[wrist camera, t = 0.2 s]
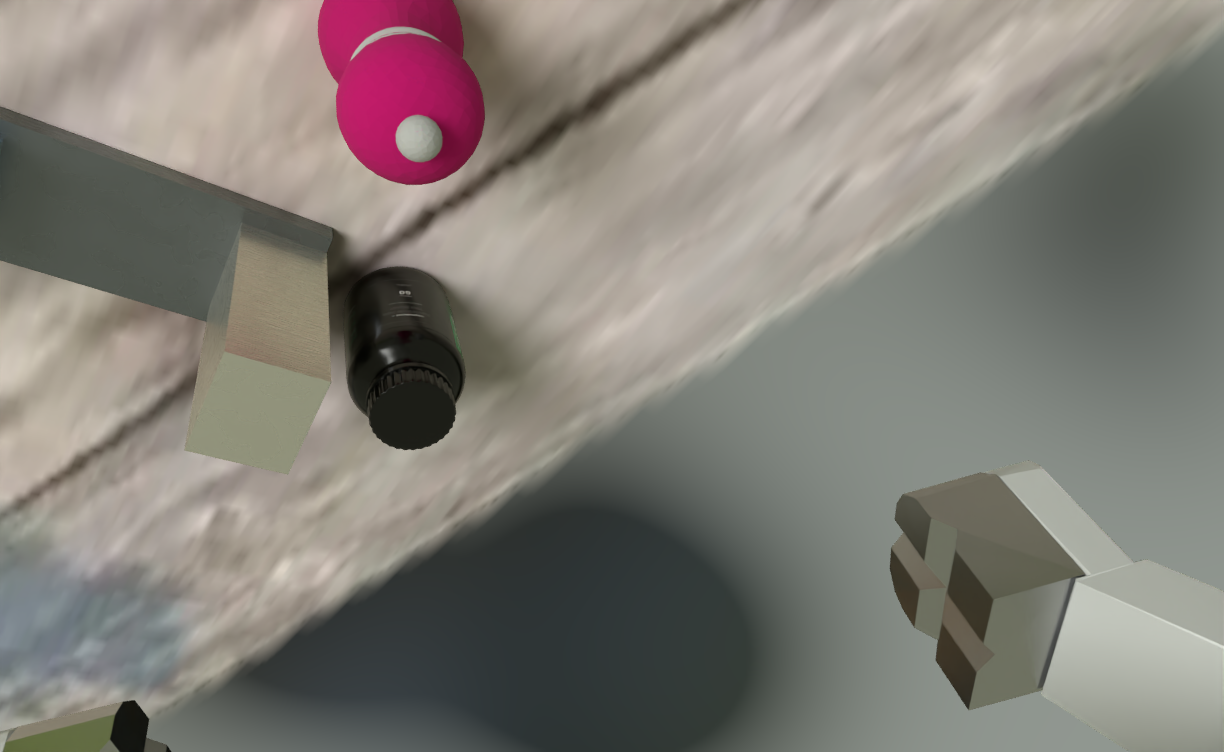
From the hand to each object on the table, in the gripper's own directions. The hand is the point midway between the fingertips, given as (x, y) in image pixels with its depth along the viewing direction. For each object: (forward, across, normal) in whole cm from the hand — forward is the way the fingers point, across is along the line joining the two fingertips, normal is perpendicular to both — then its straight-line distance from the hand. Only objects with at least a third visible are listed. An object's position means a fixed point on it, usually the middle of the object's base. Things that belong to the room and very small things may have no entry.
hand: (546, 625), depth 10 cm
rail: (+48, +18, +14) cm, 53 cm away
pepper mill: (+48, 0, +6) cm, 48 cm away
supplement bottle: (+48, +4, +24) cm, 54 cm away
